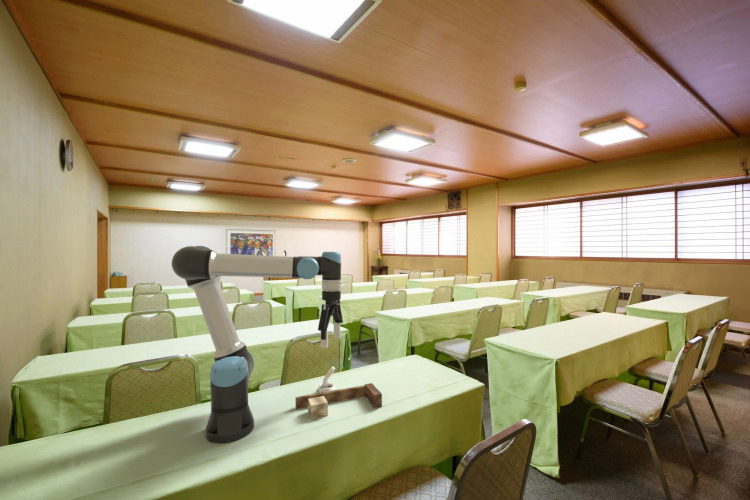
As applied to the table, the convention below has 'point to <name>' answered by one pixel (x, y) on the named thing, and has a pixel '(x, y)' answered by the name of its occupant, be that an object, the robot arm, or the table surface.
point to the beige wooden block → (317, 407)
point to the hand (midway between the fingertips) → (330, 342)
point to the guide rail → (345, 395)
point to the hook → (326, 383)
